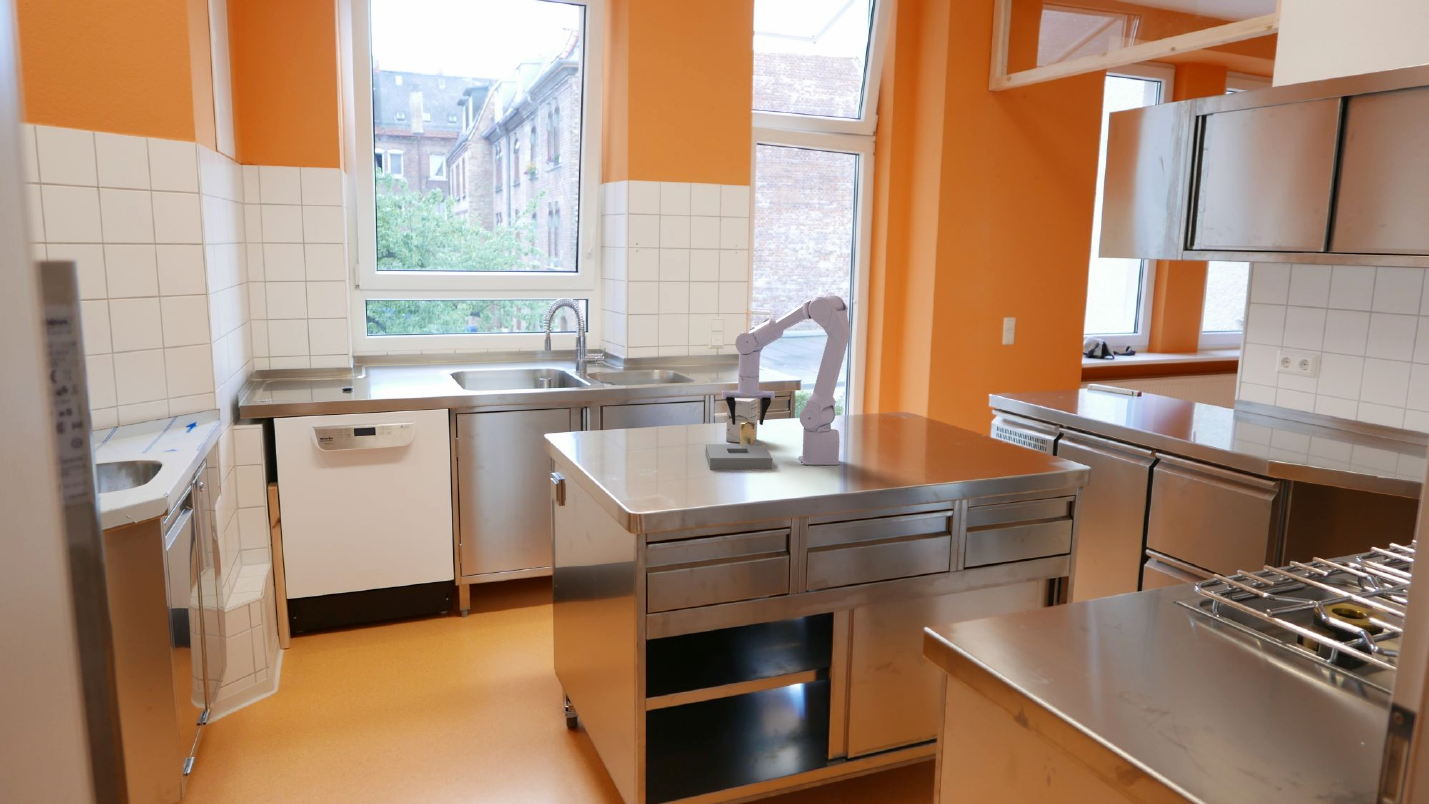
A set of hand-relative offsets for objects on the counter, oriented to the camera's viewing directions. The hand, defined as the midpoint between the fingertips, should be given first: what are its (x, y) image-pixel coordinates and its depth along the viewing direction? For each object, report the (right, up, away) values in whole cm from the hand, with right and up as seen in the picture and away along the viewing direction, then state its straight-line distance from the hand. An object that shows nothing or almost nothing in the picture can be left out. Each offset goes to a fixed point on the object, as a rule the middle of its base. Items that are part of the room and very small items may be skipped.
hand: (747, 424), depth 252 cm
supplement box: (-1, -5, +14) cm, 15 cm away
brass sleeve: (0, -7, +1) cm, 8 cm away
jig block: (-3, -10, -12) cm, 16 cm away
